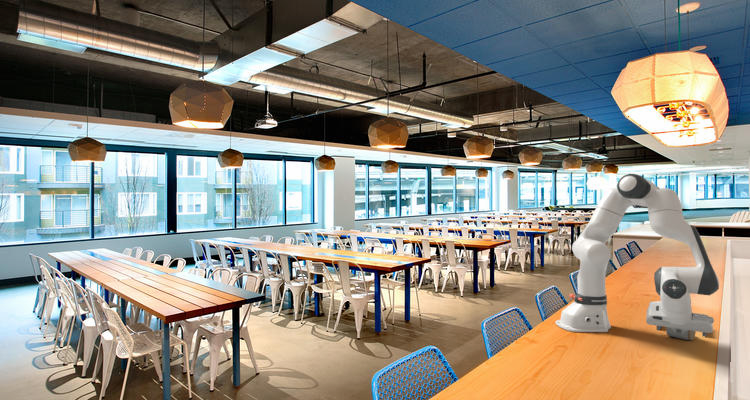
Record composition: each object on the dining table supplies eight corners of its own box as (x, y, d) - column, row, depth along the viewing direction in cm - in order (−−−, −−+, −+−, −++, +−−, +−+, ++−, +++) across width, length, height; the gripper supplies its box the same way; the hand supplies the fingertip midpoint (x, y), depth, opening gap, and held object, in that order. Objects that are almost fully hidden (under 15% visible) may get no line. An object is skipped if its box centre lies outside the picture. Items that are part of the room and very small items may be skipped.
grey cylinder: (690, 343, 153) (690, 323, 153) (665, 337, 160) (665, 318, 160) (699, 337, 159) (699, 318, 159) (675, 332, 166) (674, 314, 166)
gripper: (713, 308, 141) (713, 328, 148) (644, 301, 154) (648, 319, 162) (714, 324, 138) (714, 344, 145) (643, 315, 151) (647, 333, 158)
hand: (679, 331), depth 153 cm, fingers closed
